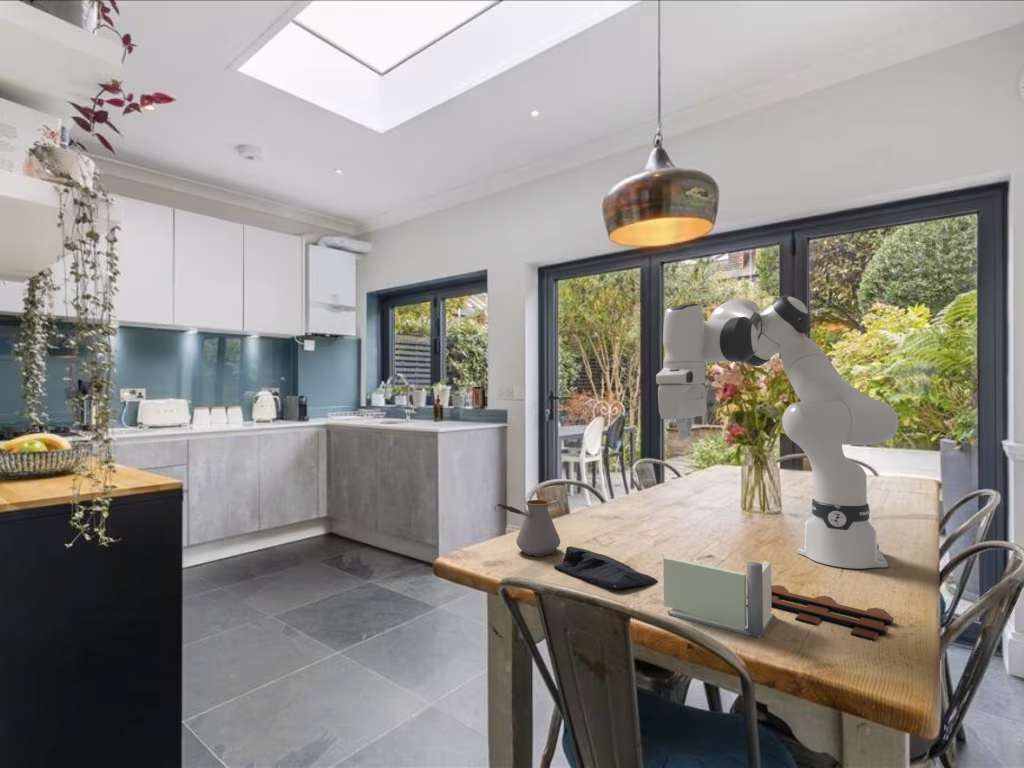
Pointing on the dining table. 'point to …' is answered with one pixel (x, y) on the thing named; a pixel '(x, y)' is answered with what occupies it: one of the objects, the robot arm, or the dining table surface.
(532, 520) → the coffee pot
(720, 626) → the card
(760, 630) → the fence post and white panel
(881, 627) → the decorative fence
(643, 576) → the dark slate chunk
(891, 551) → the dining table surface
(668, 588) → the green wall panel
